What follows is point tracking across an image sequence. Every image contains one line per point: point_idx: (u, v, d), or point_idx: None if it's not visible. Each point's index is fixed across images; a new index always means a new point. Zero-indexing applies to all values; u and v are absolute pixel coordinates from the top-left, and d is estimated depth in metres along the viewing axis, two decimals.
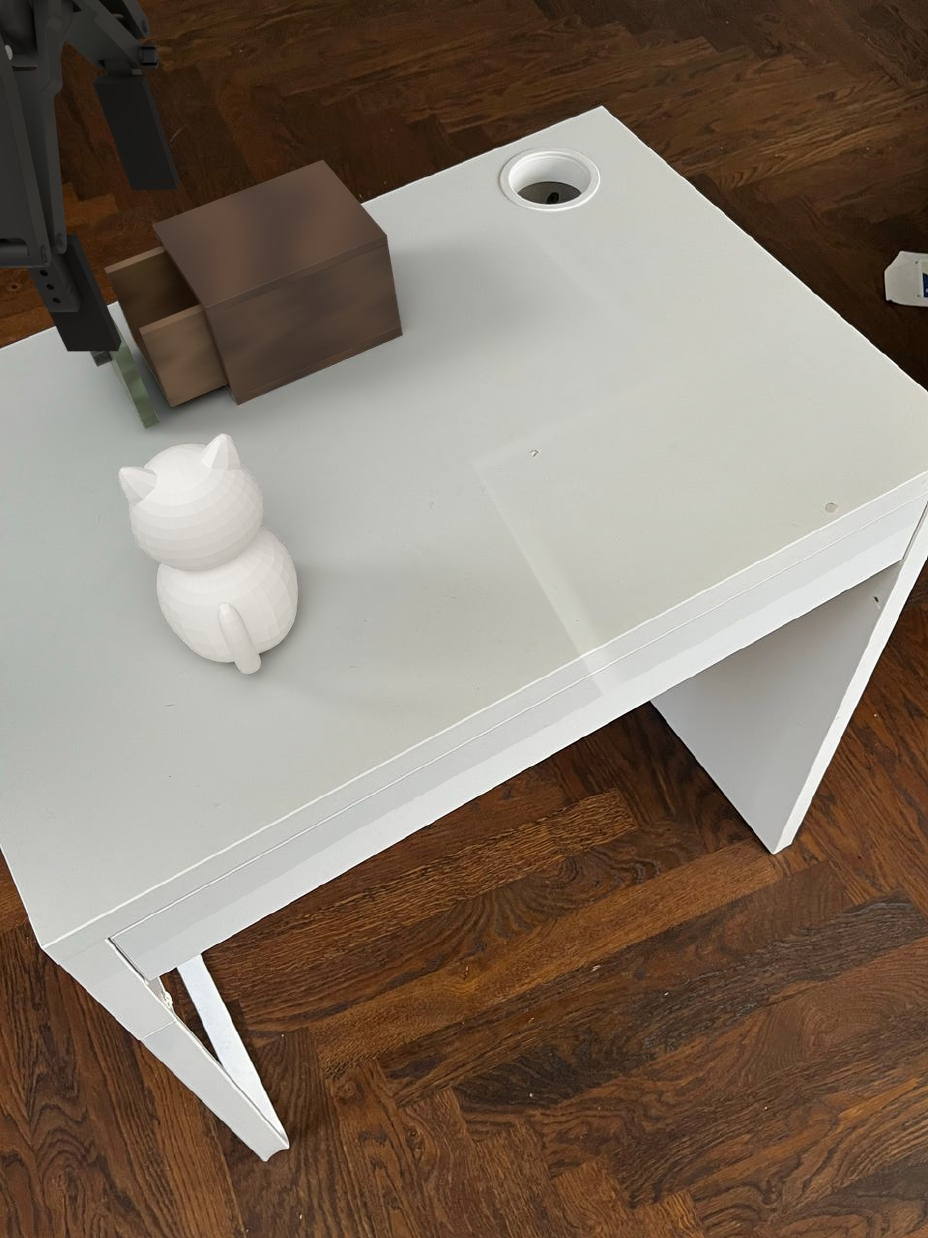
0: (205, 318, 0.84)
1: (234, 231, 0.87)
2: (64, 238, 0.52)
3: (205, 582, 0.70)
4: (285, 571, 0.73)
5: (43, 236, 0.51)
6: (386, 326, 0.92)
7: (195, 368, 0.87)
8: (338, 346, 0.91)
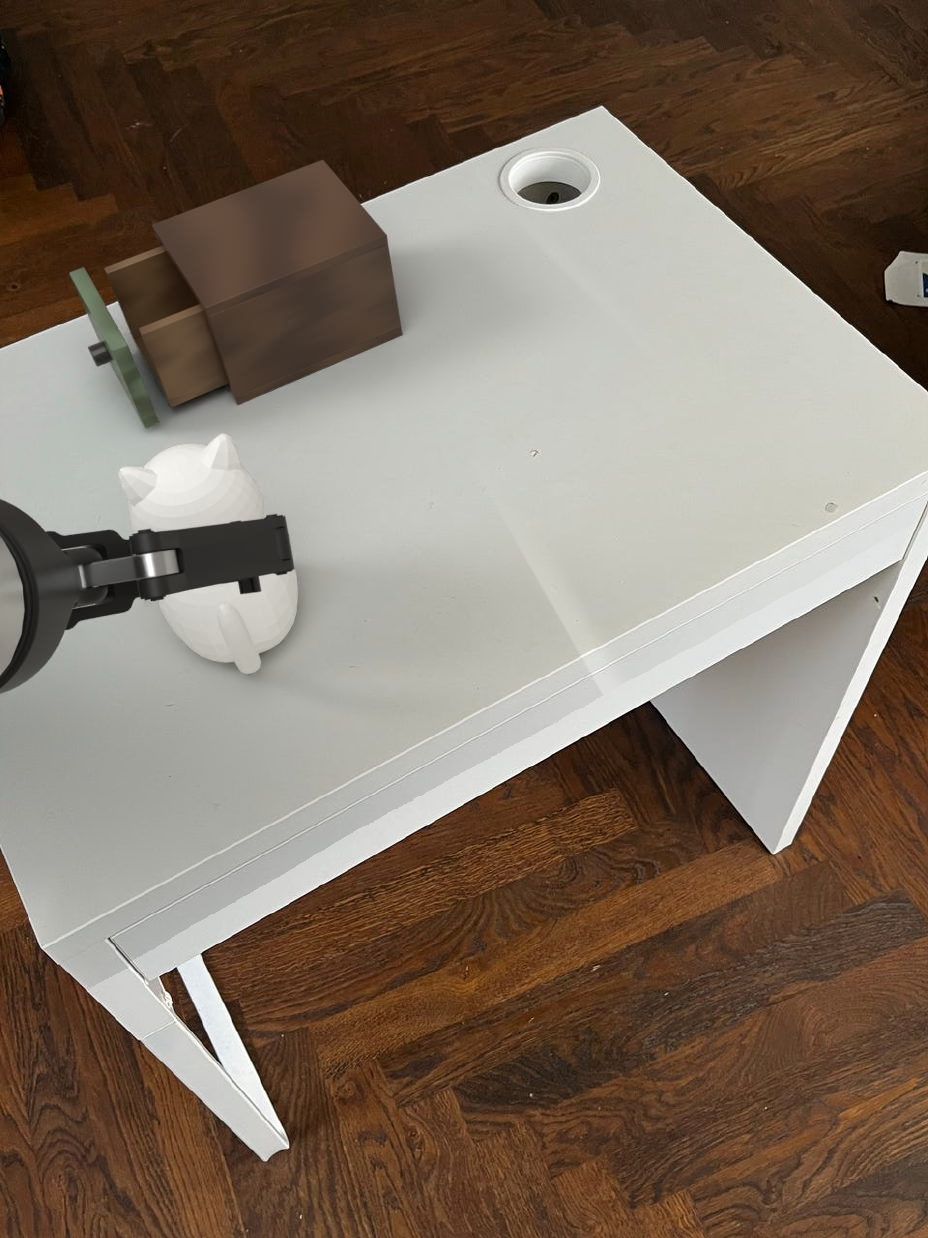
0: (205, 318, 0.84)
1: (234, 231, 0.87)
2: None
3: None
4: None
5: None
6: (386, 326, 0.92)
7: (195, 368, 0.87)
8: (338, 346, 0.91)
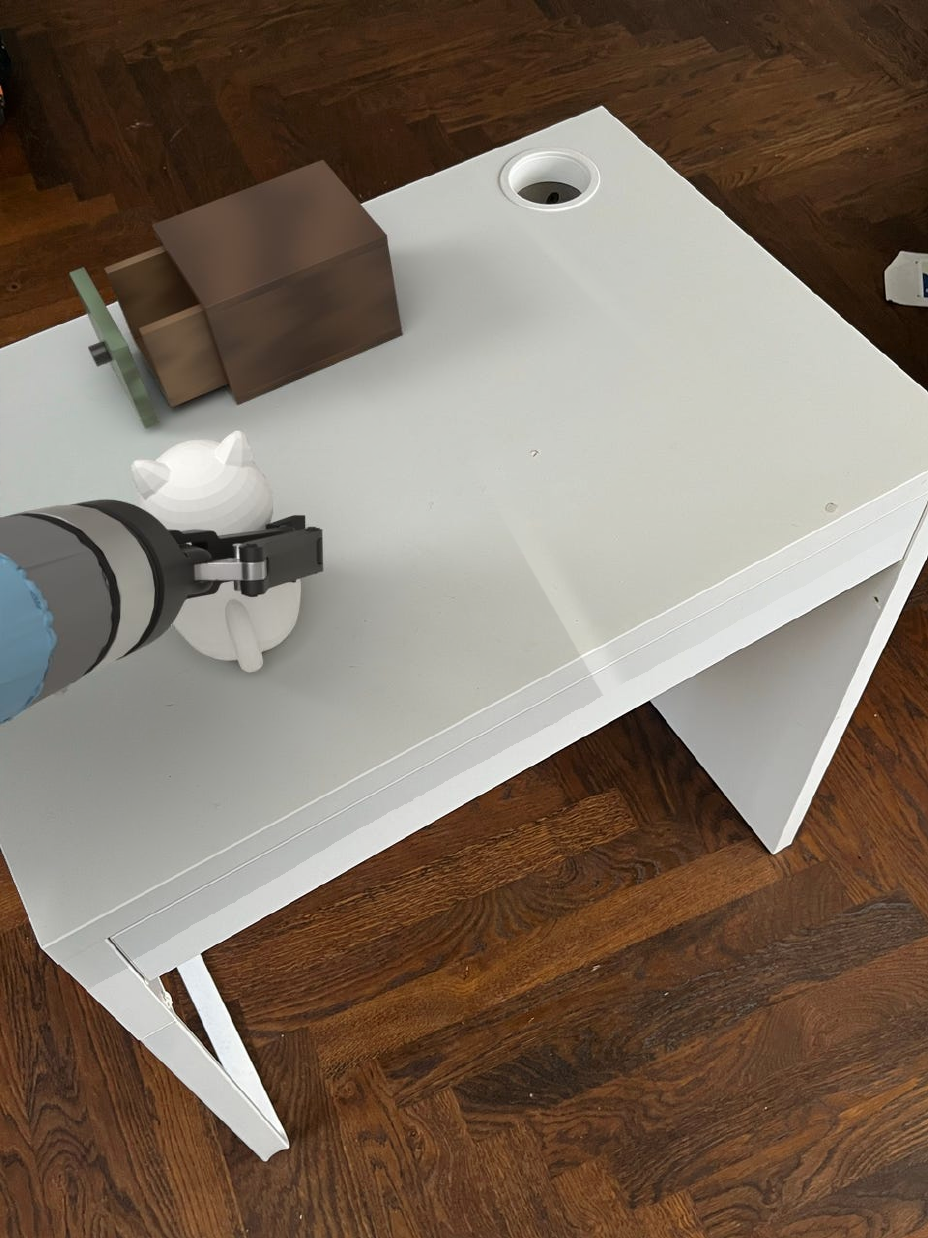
0: (205, 318, 0.84)
1: (234, 231, 0.87)
2: None
3: None
4: None
5: None
6: (386, 326, 0.92)
7: (195, 368, 0.87)
8: (338, 346, 0.91)
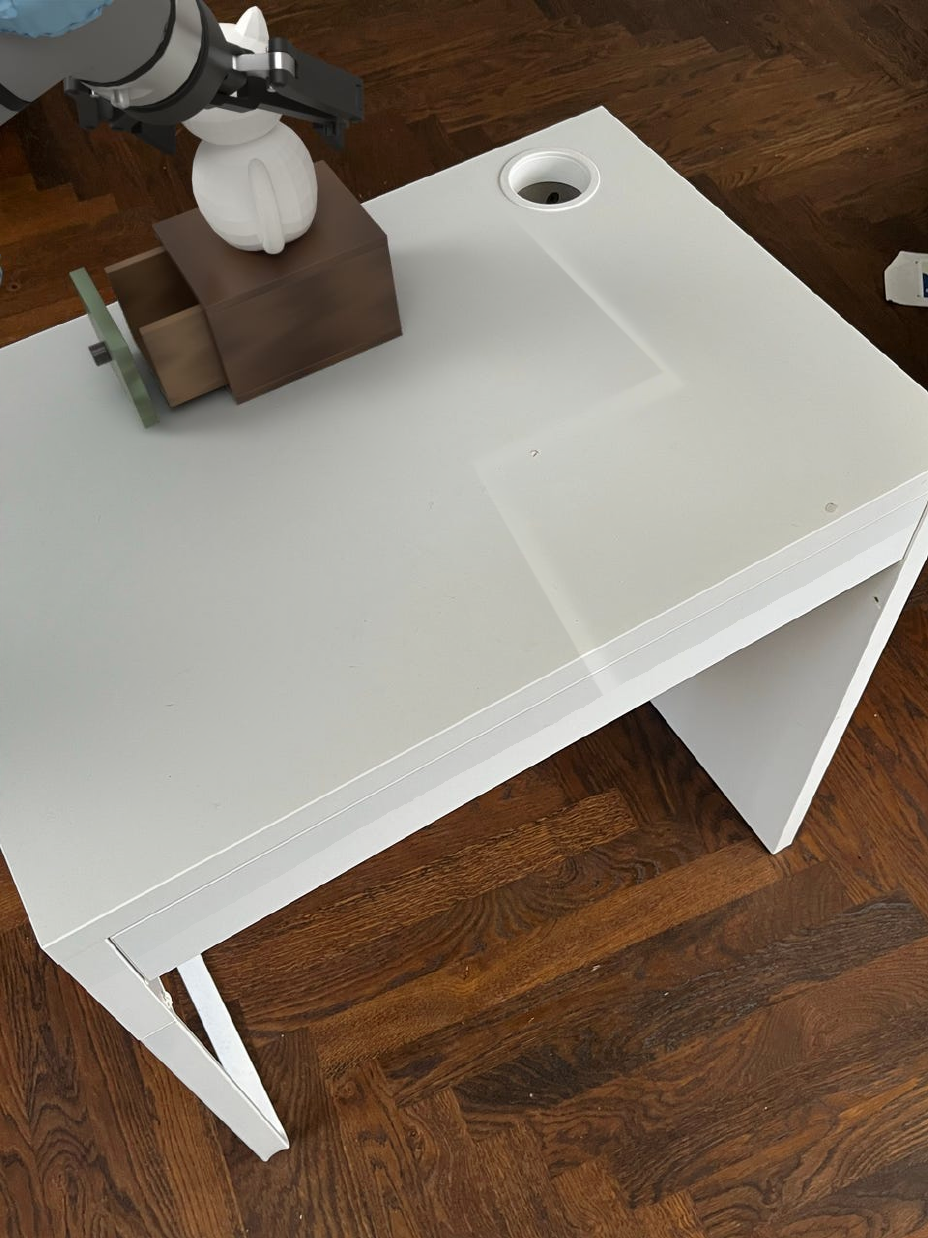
0: (205, 318, 0.84)
1: None
2: (120, 131, 0.77)
3: (236, 156, 0.80)
4: (307, 161, 0.83)
5: (92, 125, 0.76)
6: (386, 326, 0.92)
7: (195, 368, 0.87)
8: (338, 346, 0.91)
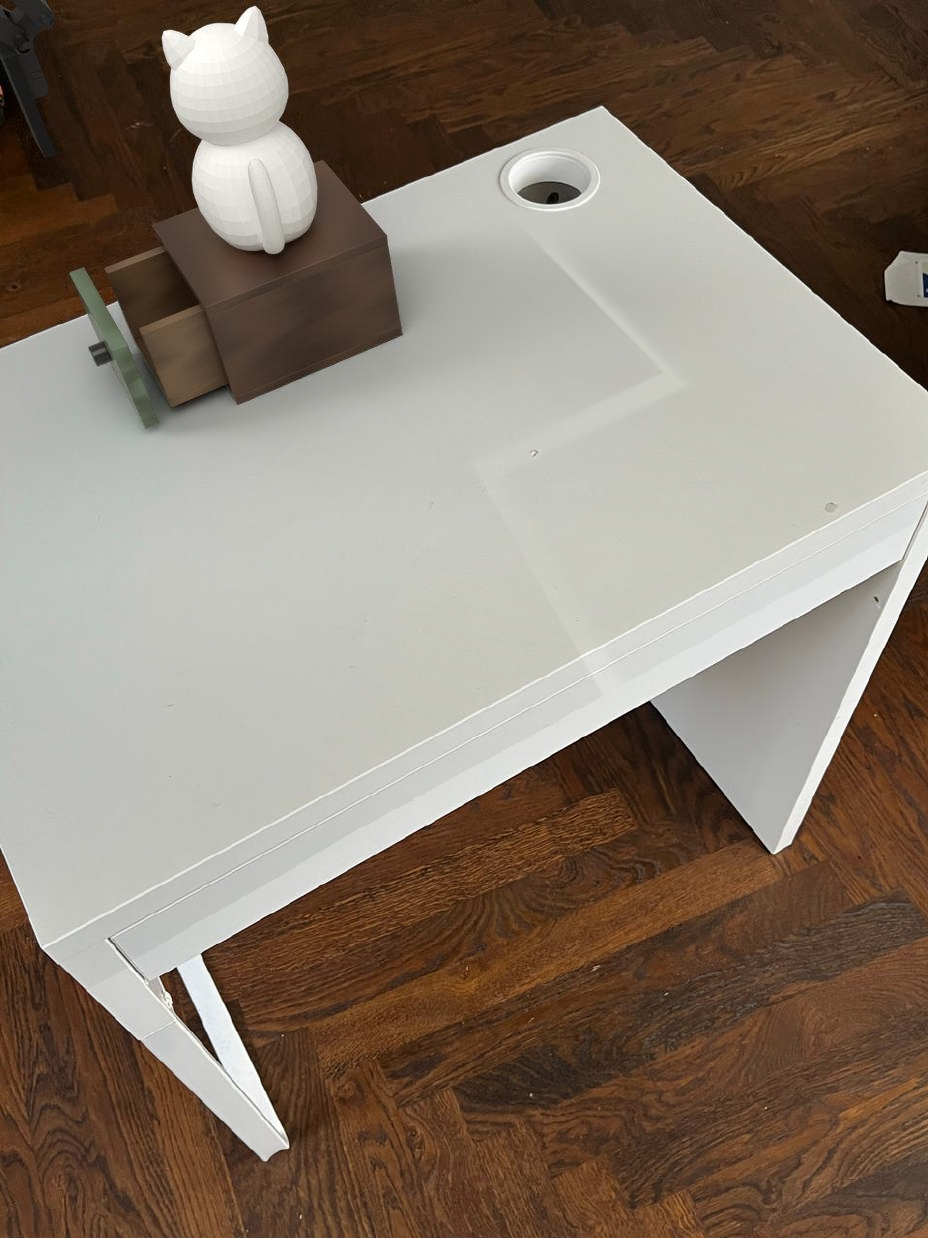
0: (205, 318, 0.84)
1: None
2: None
3: (236, 156, 0.80)
4: (307, 161, 0.83)
5: None
6: (386, 326, 0.92)
7: (195, 368, 0.87)
8: (338, 346, 0.91)
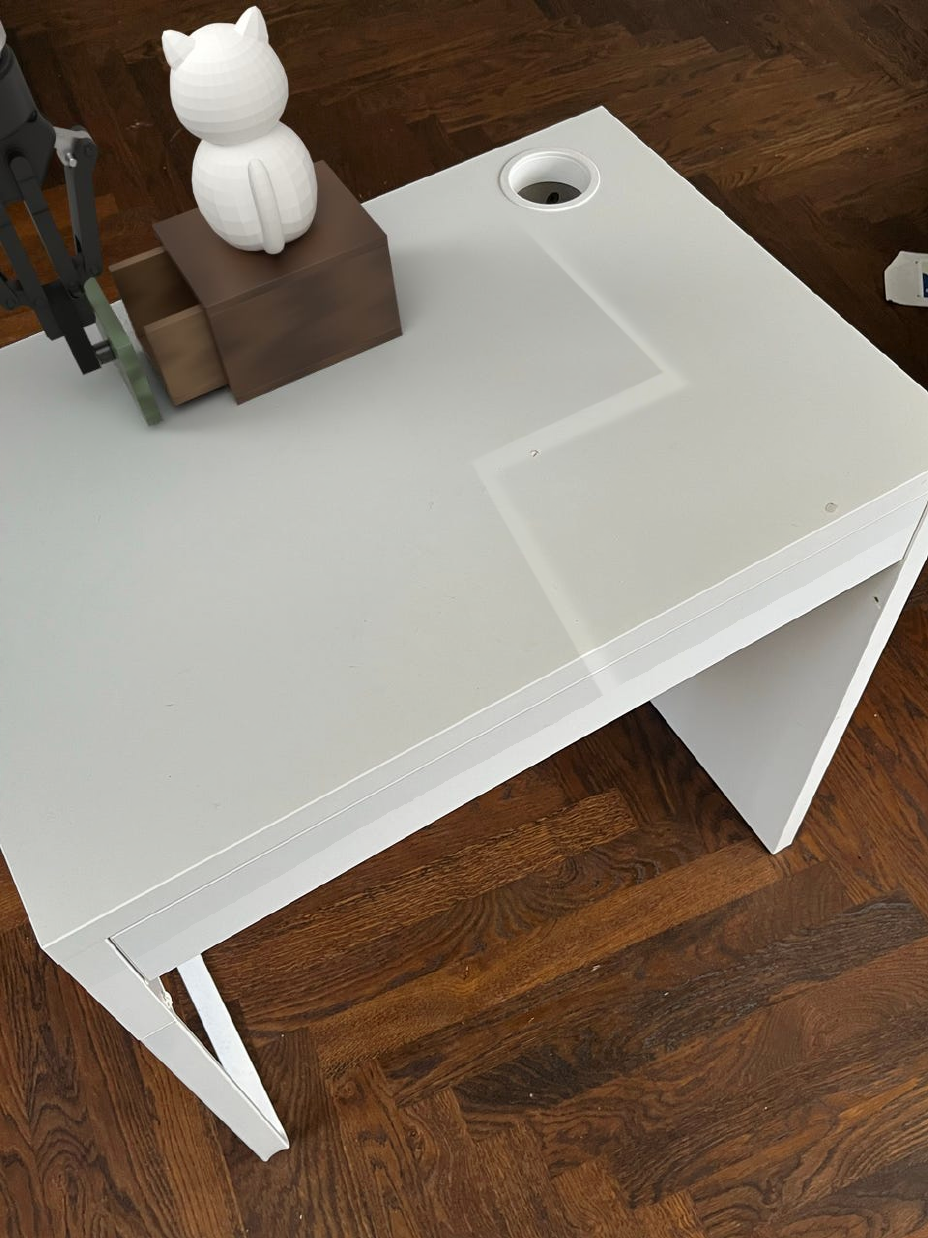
0: None
1: None
2: (39, 301, 0.80)
3: (236, 156, 0.80)
4: (307, 161, 0.83)
5: (7, 294, 0.79)
6: (386, 326, 0.92)
7: (198, 366, 0.87)
8: (338, 346, 0.91)
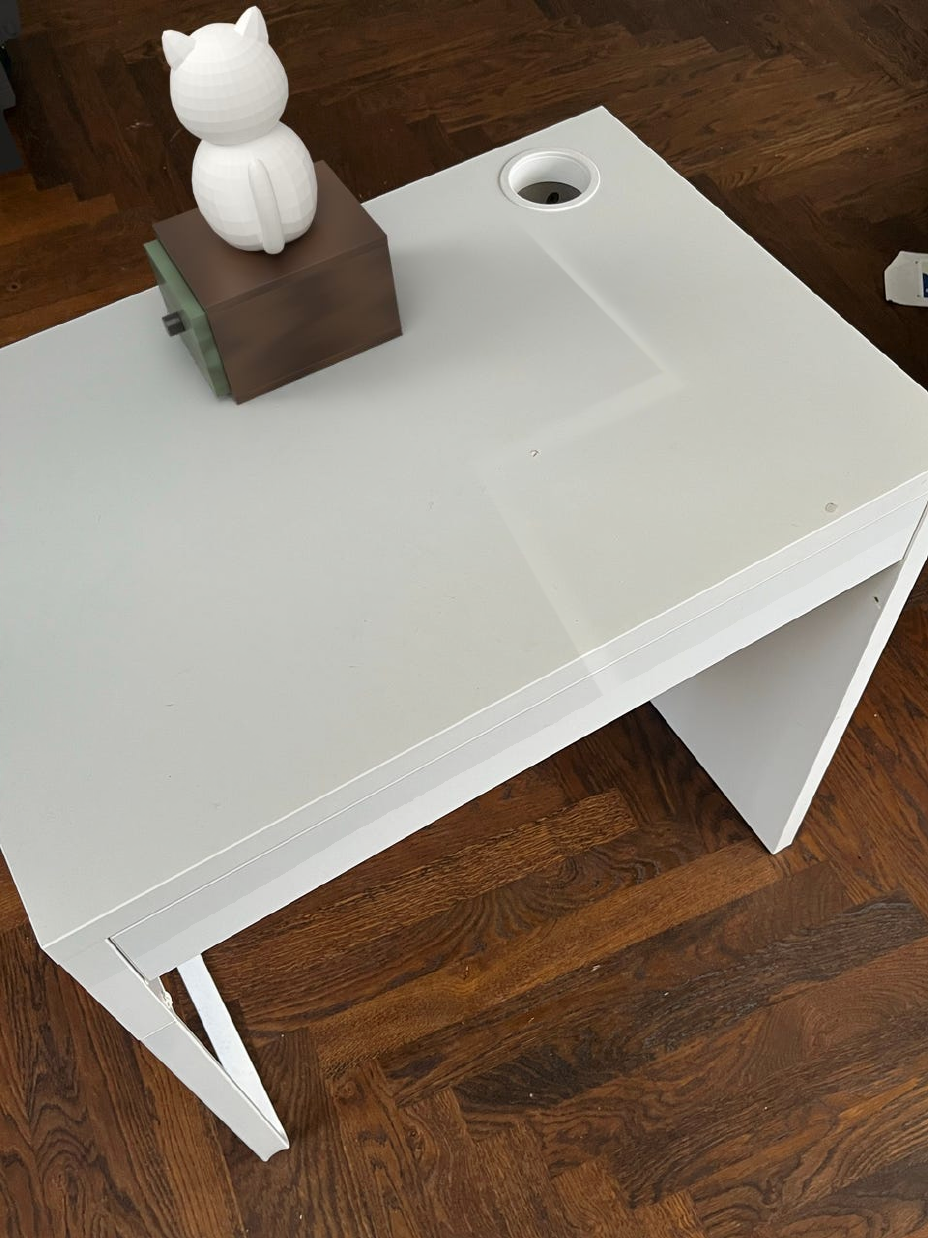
0: None
1: None
2: None
3: (236, 156, 0.80)
4: (307, 161, 0.83)
5: None
6: (386, 326, 0.92)
7: None
8: (338, 346, 0.91)
